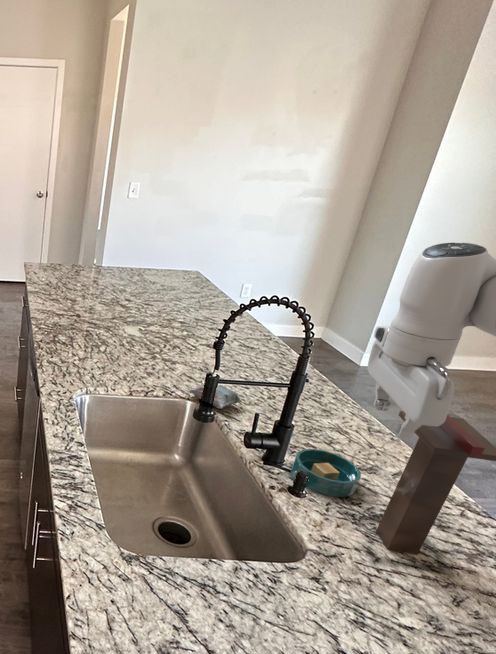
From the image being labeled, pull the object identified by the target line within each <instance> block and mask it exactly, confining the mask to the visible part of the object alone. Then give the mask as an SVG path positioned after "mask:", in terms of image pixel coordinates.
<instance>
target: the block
mask: <svg viewBox="0 0 496 654" xmlns="http://www.w3.org/2000/svg"><path fill="white" fill-rule="evenodd" d="M311 472H313V473H315V474H317V475H319V476H322V477H325V478H328V479H331V480H336V481H337V479H338V476H339V474H340V472H339V471H337V470H336V469H335V468H334V467H333V466H331V465H330V464H329V463H316V464H313V467H312V469H311Z"/></svg>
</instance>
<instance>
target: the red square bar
mask: <svg viewBox="0 0 496 654" xmlns="http://www.w3.org/2000/svg"><path fill="white" fill-rule="evenodd" d="M451 417H452V416H451V415H450V414H449V413H448V414H447V417H446V420H445V422H444V423H443V424H442V425H440V427H441V428H442V429H443V430H444V431H445V432H446V433H447V434H448V435H449V436H450V437H451V438H452V439H453V440H454V441H455V442H456V443H457V444H458V445H459V446H460V447H461V448H462V449H463V450H464V451H465V452H466V453H467V454H468V455H472V456H479V457H481V455H482V453H483V451H484V449H485V448H484V447H483V446H482V445H481V444H480V443H479V442H477V441H476V440H475V439H474V438H473V437H472V436H471V435H470V434H469V433H468V432H466V431H465V430H464V429H463V428H462V427H461V426H460V425H459V424H458V423H457V422H456V421H454V420H453V419H452V418H451Z"/></svg>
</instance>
